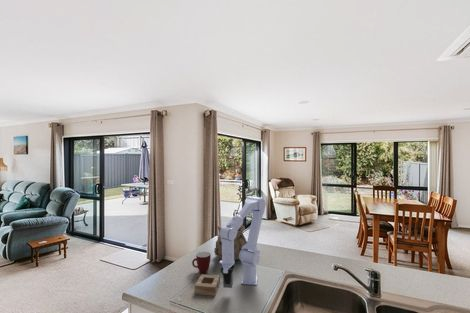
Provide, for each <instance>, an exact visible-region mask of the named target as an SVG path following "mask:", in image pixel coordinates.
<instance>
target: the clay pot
mask: <svg viewBox="0 0 470 313" xmlns="http://www.w3.org/2000/svg"><path fill="white" fill-rule="evenodd" d="M216 227H217V230H218V236H217V240H216V241H215V247H214V250H213V253H214V255H215V256H216V257H217V258H219V259H220V260H222V242H221V238H220V236H219V233H220V230H221V228H222V227H221V226H218V225H217V226H216ZM245 229H246V228H245V225H243V224H242V225H241V226H240V228H239V229H238V232H237V235H236V238H235V239H234V261H237V260H240V259H239V254H240V252H241V250H242V246H244V245H245V244H247V239H246V237H245V235H244V231H245Z"/></svg>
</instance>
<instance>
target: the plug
mask: <svg viewBox="0 0 470 313" xmlns="http://www.w3.org/2000/svg"><path fill="white" fill-rule="evenodd" d="M222 279H223V280H222V282H223V286H222V287H223V288H227V289H228V288H229V289H232V288H233V286H234V271H233V272H232V274H231V280H230V284H225V281H224V277H223V276H222Z"/></svg>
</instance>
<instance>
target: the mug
mask: <svg viewBox="0 0 470 313" xmlns="http://www.w3.org/2000/svg"><path fill="white" fill-rule="evenodd" d="M211 258H212V257H211V253H210V252H208V251H200V252H198V253H196V255H195V258H194V259H192V261H191V265H192V267H194V268H195V269H196V268H197V269H198V271H199V273H200V274H203V275H205V274H206V272H207V273H208V271H209V269H210V266H211V265H210V264H211ZM195 261H196V265H195Z"/></svg>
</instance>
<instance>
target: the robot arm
mask: <svg viewBox="0 0 470 313" xmlns="http://www.w3.org/2000/svg"><path fill="white" fill-rule="evenodd" d="M265 200H266V199H265V198H264V197H259V196H258V197H257V196H256V197H255V196H252V195H251V196H250V195H248V196H247V197H246V198H245V200H244V205H243V207H242V208H241V209H240V210H239V212H238V214H237V215H235V214H234V215H233V216H232V218H231V219H230V220H229V222H227V224H226V225H225V226H222V227H220V228H221V230H220V233H219V232H218V235H219V236H220V238H221V242H222V259H220V261H219V264H220V265H221V266H222V267H221V269H220V273H221V275H222V278H223V277H224V281H225V284H230V280H231V274H232V272H233V273H234V268H235V264H236V262H235V260H234V239H235V238H236V235H237V232H238V229H239V228H240V226H241V225H243V223H244V219H245V218H246V217H247V215H248V214H250V212H251V213H252V217H251V223H250V227H249V231H248V234H247V235H248V237H247V239H246V241H247V244H245V245H244V246H242V250H241V252H240V254H239V259H238V260H240V261H241V264H242V278H241V281H240V282H241V283H240V284H241V285H252V286H253V285H255V286H257V284H258V275H257V265H258V264H259V263H260V260H261V258H260V252H261V251H260V249H259V248H258V246H257V245H258V239H259V235H260V229H261V225H262V221H263V215H264V214H265V210H266V205H267V203H266V201H265Z"/></svg>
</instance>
